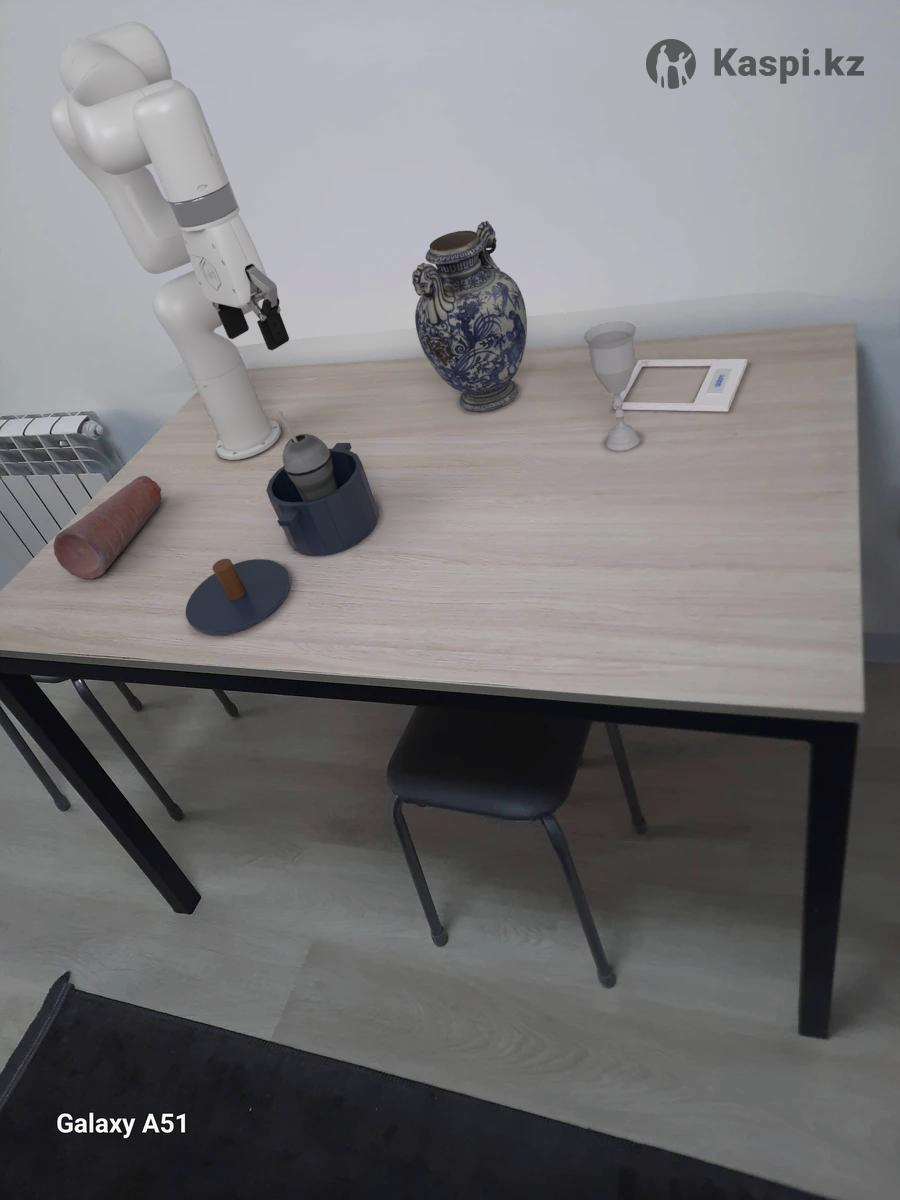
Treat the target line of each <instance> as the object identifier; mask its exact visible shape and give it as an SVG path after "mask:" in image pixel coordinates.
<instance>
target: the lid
mask: <svg viewBox="0 0 900 1200" xmlns="http://www.w3.org/2000/svg"><path fill="white" fill-rule="evenodd" d="M212 571H213V574H211V575H210V576H208V577H207V578H206V579H204V581H202V582H201V583H200V584H199V585H197V587H196V588H195V589H194V591H193V592H192V594H191V595H190V596H189V599H188V601H187V603H186V607H185V617H186V619H187V622H188V624H189V625H190V626H191V627H192V628H193V629H194V630H195V631H198V632H199V633H203V634H206V635H215V636H216V635H217V636H219V635H227V634H231V633H236V632H239V631H242V630H245V629H247V628H249V627H252V626H254V625H256V624H258V623H259V622H261V621H263V620H264V619H266V618H267V617H268V616H270V615H271V614H272V613H273V612H274V611H275V610H276V609H277V608H278V607H279V606H280V605H281V604H282V603H283V601H284V600H285V598H286V597H287V594H288V592H289V589H290V586H291V585H290V583H291V580H290V575H289V573H288V571H287V569H286V568H285V567H284V566H283V565H282V564H280V563H279V562H277V561H274V560H271V559H265V558H255V559H248V560H243V561H239V562H235V563H233V562H232V560H231V559H230V558H221V559H219V560H217V561H216V562H214V564H213V565H212Z"/></svg>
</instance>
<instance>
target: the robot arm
mask: <svg viewBox="0 0 900 1200" xmlns="http://www.w3.org/2000/svg"><path fill="white" fill-rule="evenodd" d="M58 72H59V76H60V80H61V82H62V84H63V86H64V88H65V90H66V91H67V92H68V94H67V95H65V96H62V98H60V99H59V100H58V101H56V102H55V103H54V104H53V105H52V106H51V109H50V111H49V123H50V125H51V129H52V131H53V133H54V135H55V137H56V139H57V141H58V142H59V144H60V146H61V147H62V149H63V151H64V152H65V154H66V155H67V156H68V158H69V159H70V160H71V161H72V163H73V164H74V165H75V166H76V167H77V169H79V171H80V172H81V173H82V174H83V175H84V176H85V177H86V178H87V179H88V180H89V181H90V183H92V184H93V185H94V186H95V188H96V189H97V190H98V191H99V192H100V194H101V195H102V197H103V198H104V200H105V202H106V204H107V206H108V207H109V210H110V211H111V213H112V215H113V217H114V219H115V221H116V223H117V225H118V227H119V229H120V231H121V233H122V235H123V236H124V238H125V240H126V242H127V245H128V246H129V248H130V250H131V252H132V254H133V255H134V258H135V259H136V261H137V262H138V263H139V265H140V266H141V267H142V269H143V270H144V271H146V272H147V273H149V274H152V275H153V274H154V275H159V274H163V273H166V272H169V271H172V270H175V269H178V268H179V267H182V266H185V265H187V264H190V263H191V266H192V268H193V270H191V271H189V272H187V273H184V274H182V275H179V276H178V277H175V278H173V279H170V280H169V281H166V282H165V283H163V284H162V285H160V286H159V287H158V288H157V289H156V290H155V292H154V293H153V295H152V298H151V306H152V310H153V313H154V315H155V317H156V319H157V320H158V322H159V324H160V325H161V327H162V328H163V330H164V331H165V333H166V334H167V336H168V337H169V339H170V340H171V342H172V344H173V345H174V347H175V349H176V350H177V352H178V354H179V356H180V358H181V360H182V361H183V362H182V363H184V366H185V368H186V370H187V372H188V374H189V376H190V378H191V380H192V382H193V385H194V387H195V388H196V391H197V394H198V395H199V397H200V399H201V401H202V404H203V405H204V408H205V410H206V412H207V414H208V416H209V418H210V420H211V423H212V425H213V426H214V429H215V431H216V433H217V435H218V437H219V439H218V440H217V442H216V444H215V451H216V453H217V456H219V457H220V458H222V459H223V460H228V461H238V460H245V459H249V458H251V457H252V458H253V457H254V456H256V455H259V454H261V453H263V452H265V451H267V450H269V449H270V448H271V447H272V446H273V445H274V444H275V443H277V441H278V440H279V438H280V437H281V434H282V429H281V427H280V424H279V423H278V422H277V421H275V420H273V419H270V418H269V419H268V416H267V415H266V414H267V413H266V412H265V410H264V408H263V404H262V402H261V400H260V398H259V395H258V393H257V391H256V389H255V386H254V384H253V382H252V379H251V377H250V375H249V371H248V369H247V367H246V364H245V363H244V360H243V358H242V356H241V353H240V351H239V349H238V347H237V346H236V345H235V344H234V343H233V342H232V341H231V340H234V339H236V338H238V337H239V336H242V335H243V334H245V333H246V332H248V331H249V330H250V327H249V324H248V322H247V319H246V317H245V315H247V314H249V313H251V312H253V313H254V314H255V316H256V317H257V318H258V320H257V321H256V323H257V325H258V328H259V330H260V334H261V335H262V338H263V340H264V343H265V345H266V348H267V350H269V351H274V350H276V349H277V348H280V347H281V346H283V345H284V344H286V343H288V342H289V341H290V336H289V334H288V331H287V328H286V326H285V323H284V321H283V318H282V315H281V311H282V309H281V307H280V299H279V296H278V286H277V284H276V283H275V282H274V281H273V280H272V279H271V278H269V277H268V276H267V273H266V270H265V267H264V264H263V263H262V260H261V258H260V255H259V253H258V250H257V248H256V245H255V244H254V242H253V239H252V237H251V236H250V233H249V231H248V229H247V227H246V225H245V223H244V221H243V219H242V217H241V215H240V214H239V213H240V210H241V209H240V206H239V204H238V201H237V198H236V195H235V193H234V190H233V188H232V185H231V183H230V180H229V177H228V175H227V172H226V169H225V167H224V164H223V161H222V159H221V156H220V153H219V151H218V148H217V146H216V143H215V140H214V138H213V135H212V132H211V130H210V126H209V124H208V122H207V120H206V117H205V114H204V111H203V108H202V106H201V103H200V101H199V98H198V97H197V95H196V93H195V92H194V91H193V90H192V89H191V88H189V87H187V86H186V85H185V84H184V83H182V82H181V81H179V80H176V79H173V74H172V66H171V63H170V60H169V56H168V53H167V51H166V49H165V47H164V45H163V43H162V42H161V40H160V38H159V37H158V36H157V34H155V32H154V31H153V30H152V29H151V28H150V27H148V26H147V25H145V24H143V23H141V22H138V21H129V22H125V23H122V24H119V25H115V26H113V27H110V28H107V29H104V30H101V31H98V32H95V33H91V34H89V35H86V36H84V37H80V38H78V39H76V40H74V41H73V42H71V43H69V44H68V45H67V46H66V48H65V49H64V50H63V52H62V53H61V55H60V59H59V63H58ZM151 164H152V166H153V169H154V170H155V173H156V175H157V178H158V180H159V182H160V184H161V187H162V189H163V191H164V193H165V196H166V197H164V195H163V194H162V193H163V192H161V189H160V187H159V185H158V183H157V182H156V179H155V177H154V174H153V173H152V172H151V171H150V169H148V167H146V166H149V165H151ZM260 301H262V304H261V306H260V305H259V303H260ZM222 326H223V329H224V331H225V333H226V336H227V338H226V337H225V336H223V335H221V334H219V333H217V332H215V330H216V329H218V328H220V327H222Z"/></svg>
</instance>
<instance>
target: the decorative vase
mask: <svg viewBox="0 0 900 1200" xmlns="http://www.w3.org/2000/svg"><path fill="white" fill-rule="evenodd" d="M497 242H498V240H497V237H496V231H495V229H494V228H493V226H492V224H490V221H488V220H485V221H481V222H480V224H478V225H477V228H476V230H475V231H474V230H457V231H452V232H449V233H446V234H444V235H441V236H438V237H437V238H436V239H434V240H433V241H431V243H430V244H429V249H428V250H427V252H426V253H425V260H426V262H428V263H425V262H421V263H420V264H418V265H417V266H416V268H415V270H413V271H412V275H411V279H412V282H411V283H412V285H413V287H414V291H415V293H416V295H417V296H419V299H418V301H417V304H416V307H415V313H414V322H415V329H416V334H417V338H418V340H419V343H420V347H421V348H422V351H423V354H424V355H425V357H426V359H427V360H428V362H429V364H430V365H431V367H432V368H433V369H434V370H435V372H436V373H437V374H438V376H439V377H440V378H441V379H442V381H444V382H445V383H446V384H447V385H448V386H450V387H451V388H452V389H454V390H455V391H458V392H460V393H461V395H460V398H459V403H460V406H461V408H462V409H464V410H465V411H468V412H471V413H473V412H474V413H484V412H490V411H494V410H497V409H500V408H503V407H504V406H506V405H508V404H509V403H511V402H512V401H513V400H515V398H516V397H517V395H518V393H519V388H518V385H517V384H516V382H515V381H514V380H513V379H514V378H515V376H516V375H517V373H518V372H519V368H520V366H521V364H522V360H523V357H524V354H525V349H526V344H527V343H526V342H527V335H528V318H527V309H526V303H525V300H524V297H523V294H522V291H521V290H520V287H519V285H518V284H517V282H516V281H515V280H514V279H513V278H512V277H511V276H510V275H509V274H508V273H506V272H504V271H502V270H501V268H500V267H499V266H498V265H497V264H496V262H495V261H494V259H493V257H492V256H491V254H493V253H494V252H495V251H496V249H497Z"/></svg>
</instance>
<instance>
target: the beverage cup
mask: <svg viewBox="0 0 900 1200" xmlns="http://www.w3.org/2000/svg"><path fill="white" fill-rule="evenodd" d="M277 414H278V416H279V417H280V419H281V421H282V422H283V425H284V427H285V428H286V430H287V432H288V434H289V435H290V439H289V440H288V441H287V442H286V443H285V446H284V448H283V451H282V463H283V466H284V469H285V472H286V473H287V474H288V476H289V477H290V479H291V480H292V482H293V483H294V484H295V486H296V488H297V489H298V491H299V493H300V495H301V497H302V499H303V501H304V502H306V501H311V500H314V499H317V498H321V497H324V496H326V495H328V494H330V493H332V492H334V491H336V490H337V489H338V486H337V482H336V478H335V475H334V471H333V463H332V459H331V456H332V455H331V452H330V451H329V450H328V449H329V448H328V446H327V444H326V443H325V442H324V441H323V440H322V439H320V438H319V437H318V436H316V435H314V434H310V433H299V434H296V435H295V434H294V432H293V430H292V428H291V426H290V425H289V423H288V420H287V419H286V417H285V415H284V413H283V411H282V410H278V412H277Z"/></svg>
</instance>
